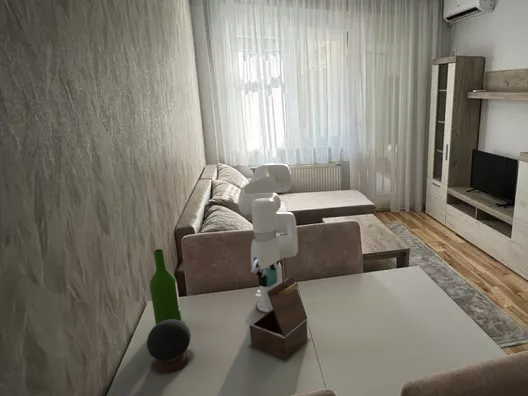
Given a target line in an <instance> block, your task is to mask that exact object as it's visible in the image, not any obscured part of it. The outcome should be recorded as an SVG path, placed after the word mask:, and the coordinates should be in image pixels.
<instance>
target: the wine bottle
mask: <svg viewBox="0 0 528 396" xmlns="http://www.w3.org/2000/svg"><path fill="white" fill-rule="evenodd" d="M153 255H154V261H155V263H154V264H155V272H154V273H153V276H152V277H151V278H150V282H149V290H150V297H151V302H152V303H151V304H152V308H153V316H154V323H155V326H156V325H157V324H159V323H160V322H162V321H165V320H169V319H175V320H179V321H181V322H183V319H182V312H181V305H180V297H179V289H178V283H177V279H176V277H175V275H174V274H173V273H172V272H170V270H168V269H167V266H166V261H165V254H164V250H163V249H162V248H158V249H155V250H153Z"/></svg>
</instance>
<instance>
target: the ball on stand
mask: <svg viewBox="0 0 528 396" xmlns="http://www.w3.org/2000/svg"><path fill="white" fill-rule="evenodd" d="M191 335H192V334H191V331H190V328H189V327H188V325H187V324H186V323H185V322H183V321H182V322H181V321H179V320H175V319H169V320H165V321H162V322H160V323H159V324H157V325H156V324H155V325H154V326H153V327H152V329H151V330H150V332H149V333H148V335H147V338H146V347H147V351H148V353H149V354H150V356H151V357H153V358H154V361H153V368H154V370H155V371H156V372H159V373H170V372H175V371H177V370H179V369H181V368H183V367H184V366H186V365H187V364H188V363H189V361H190V360H191V353H190V351H189V350H188V348H189V346H190V344H191V340H192V339H191V337H192V336H191Z"/></svg>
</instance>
